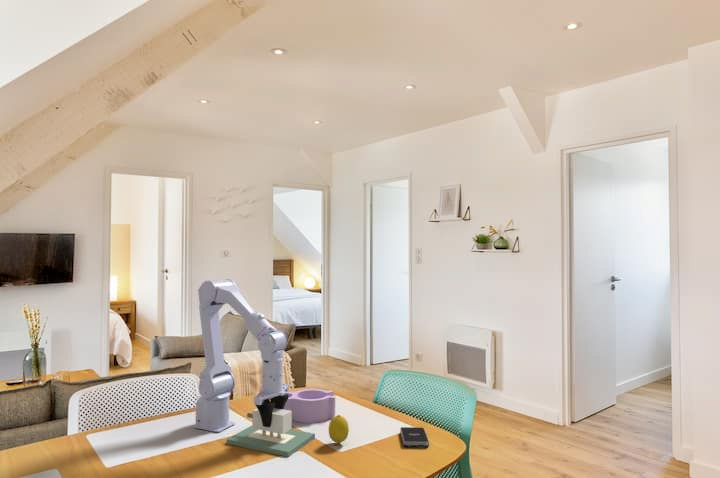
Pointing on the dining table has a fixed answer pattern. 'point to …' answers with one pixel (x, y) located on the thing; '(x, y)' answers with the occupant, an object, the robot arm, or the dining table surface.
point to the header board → (271, 440)
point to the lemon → (338, 429)
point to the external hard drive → (414, 437)
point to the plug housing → (273, 421)
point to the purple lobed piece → (311, 405)
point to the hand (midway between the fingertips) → (271, 423)
